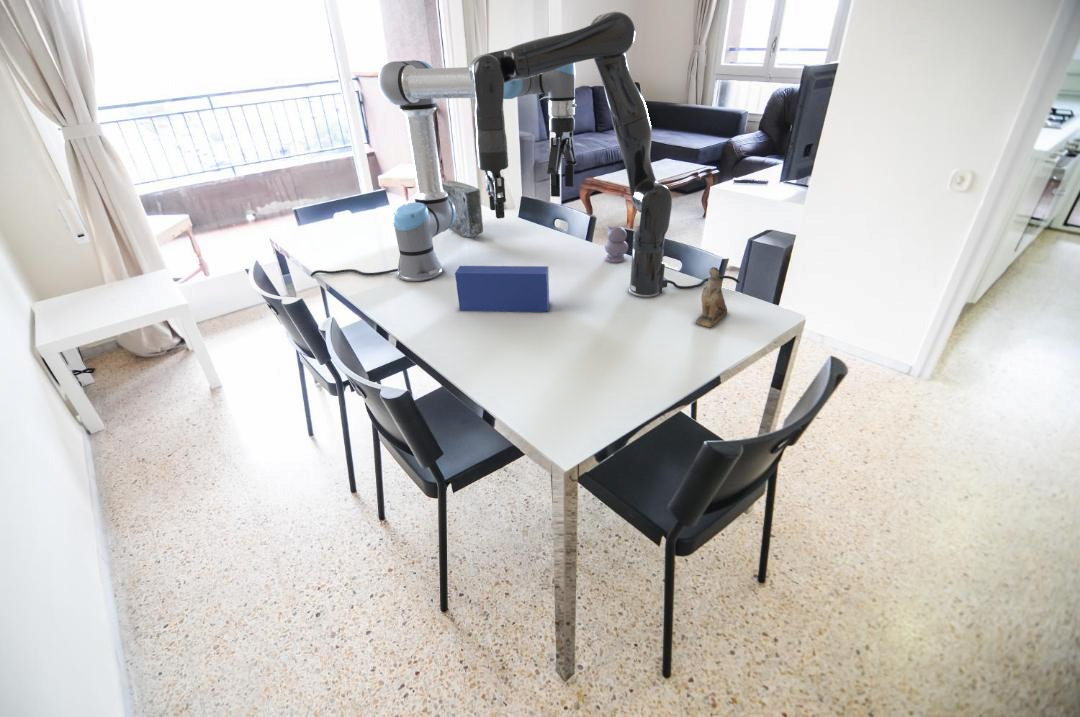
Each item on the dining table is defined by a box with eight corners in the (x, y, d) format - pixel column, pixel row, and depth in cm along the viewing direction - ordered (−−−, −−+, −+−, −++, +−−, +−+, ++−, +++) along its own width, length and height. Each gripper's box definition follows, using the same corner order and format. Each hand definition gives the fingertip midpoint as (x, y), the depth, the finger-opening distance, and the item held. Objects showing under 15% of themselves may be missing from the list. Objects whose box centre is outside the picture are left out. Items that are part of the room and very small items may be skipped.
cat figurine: (631, 259, 181) (633, 226, 175) (619, 265, 176) (620, 231, 170) (612, 254, 186) (614, 222, 180) (599, 259, 181) (600, 227, 175)
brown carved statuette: (709, 335, 136) (713, 280, 124) (691, 329, 139) (693, 274, 128) (730, 313, 142) (736, 258, 130) (712, 307, 145) (716, 253, 133)
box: (459, 310, 149) (454, 273, 143) (464, 302, 154) (459, 265, 148) (547, 312, 147) (546, 273, 140) (549, 303, 152) (548, 266, 145)
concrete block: (488, 238, 207) (483, 189, 196) (469, 243, 203) (464, 193, 192) (458, 224, 226) (452, 179, 215) (440, 228, 221) (434, 182, 211)
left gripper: (560, 121, 134) (561, 201, 145) (586, 112, 154) (585, 183, 165) (534, 121, 137) (537, 200, 148) (563, 112, 156) (564, 181, 167)
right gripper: (512, 151, 118) (516, 219, 127) (501, 143, 130) (505, 205, 139) (481, 154, 117) (487, 222, 125) (473, 145, 129) (479, 208, 137)
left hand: (562, 191), depth 156 cm, fingers open, 13 cm apart
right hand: (497, 213), depth 132 cm, fingers open, 8 cm apart
